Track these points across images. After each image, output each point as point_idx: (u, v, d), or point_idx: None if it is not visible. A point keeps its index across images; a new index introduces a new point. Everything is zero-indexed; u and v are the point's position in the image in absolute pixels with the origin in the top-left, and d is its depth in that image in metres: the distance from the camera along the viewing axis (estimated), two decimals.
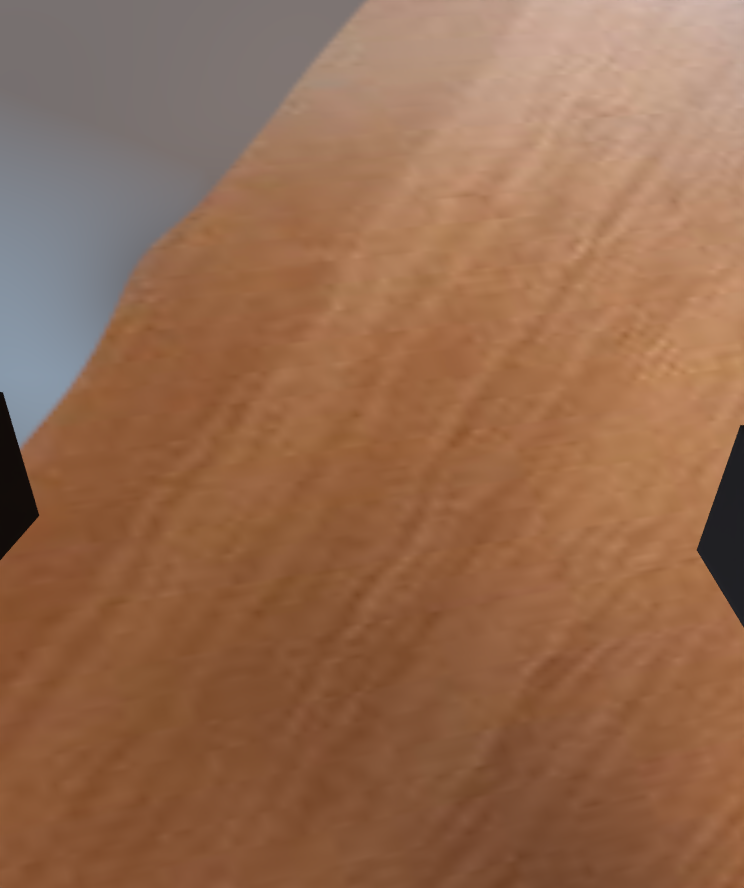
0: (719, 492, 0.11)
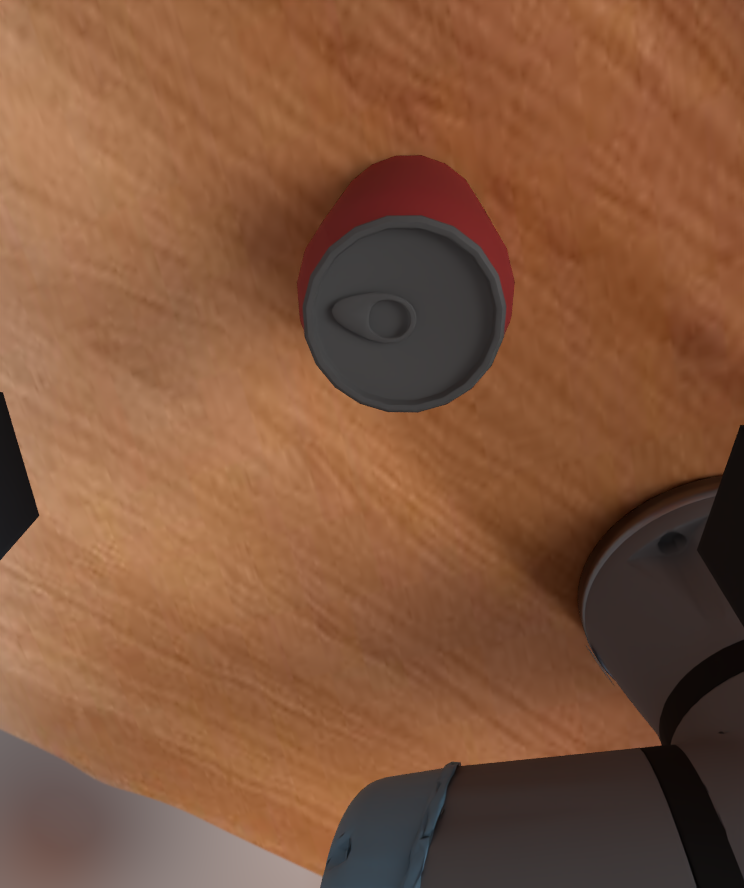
0: (719, 492, 0.11)
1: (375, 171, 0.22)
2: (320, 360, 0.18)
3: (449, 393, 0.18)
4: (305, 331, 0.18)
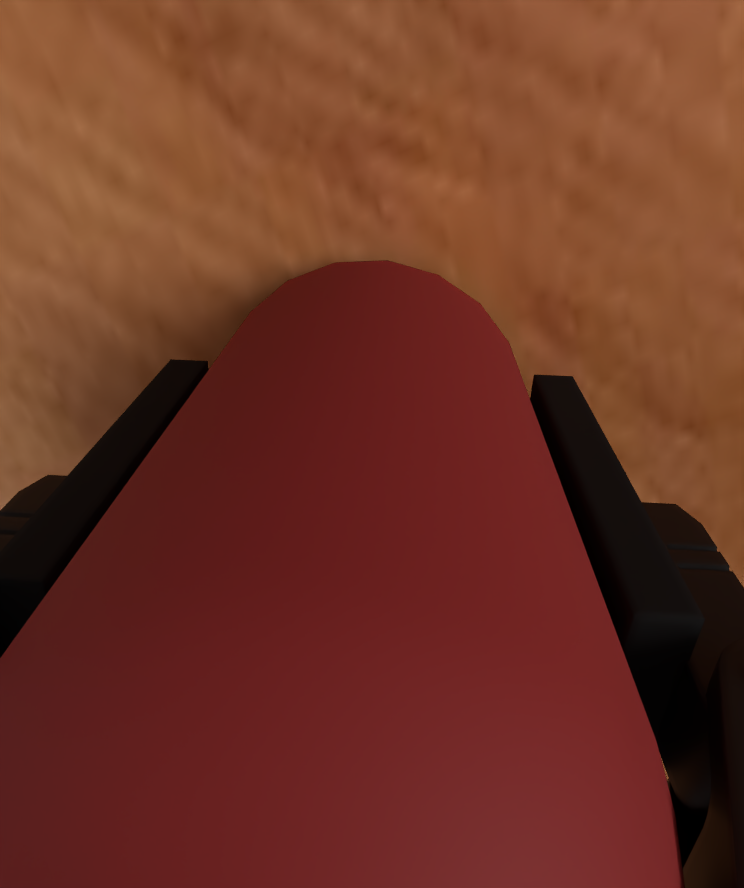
0: None
1: (266, 339, 0.09)
2: None
3: None
4: None
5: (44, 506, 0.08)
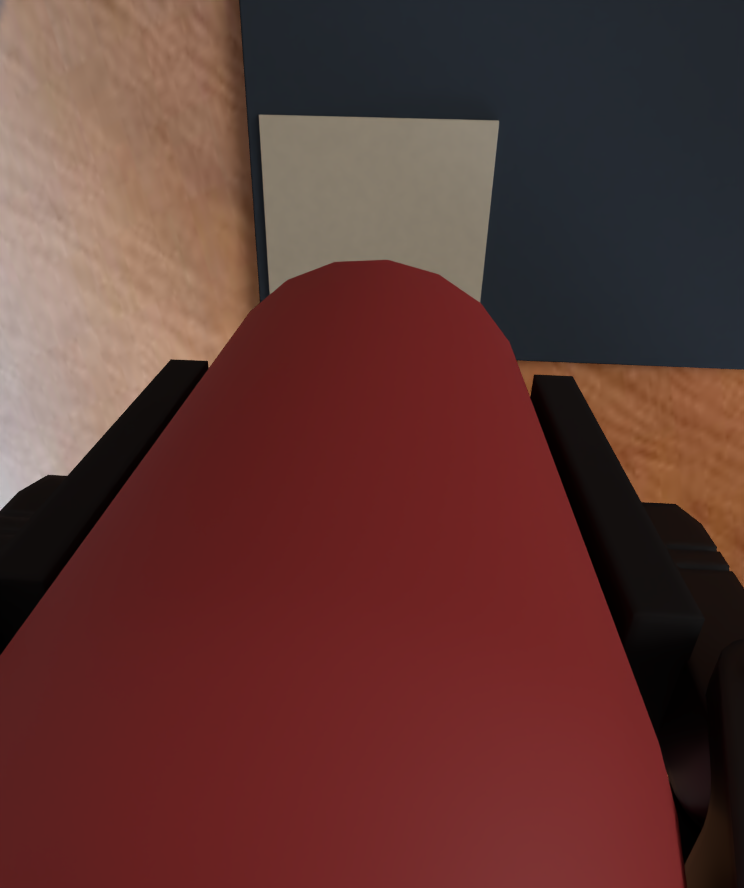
0: None
1: (265, 338, 0.09)
2: None
3: None
4: None
5: (44, 506, 0.08)
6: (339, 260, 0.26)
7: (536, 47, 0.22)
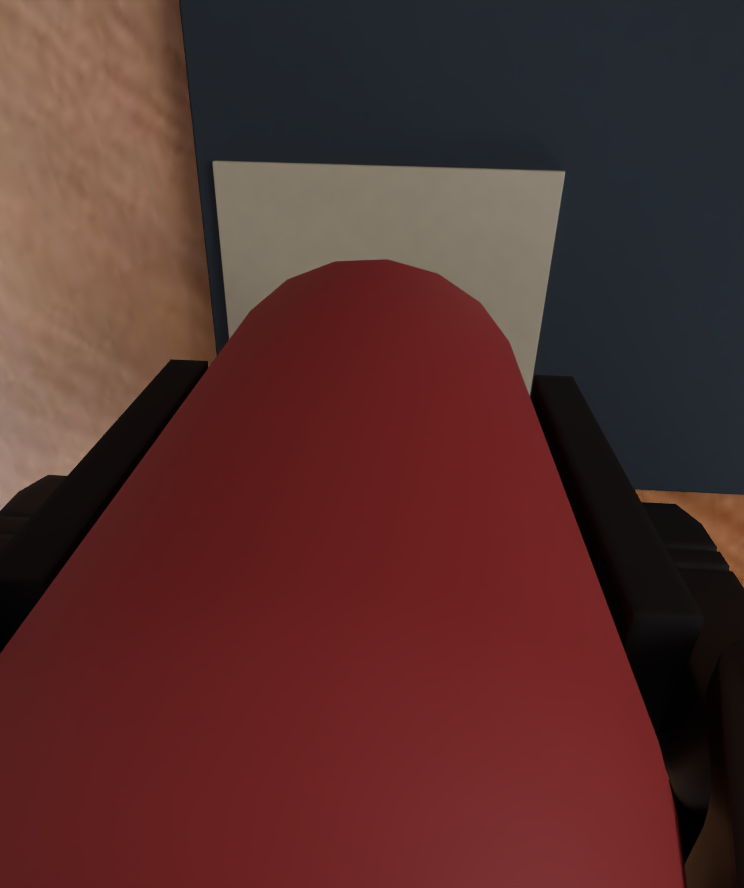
0: None
1: (265, 338, 0.09)
2: None
3: None
4: None
5: (44, 506, 0.08)
6: None
7: (625, 65, 0.15)
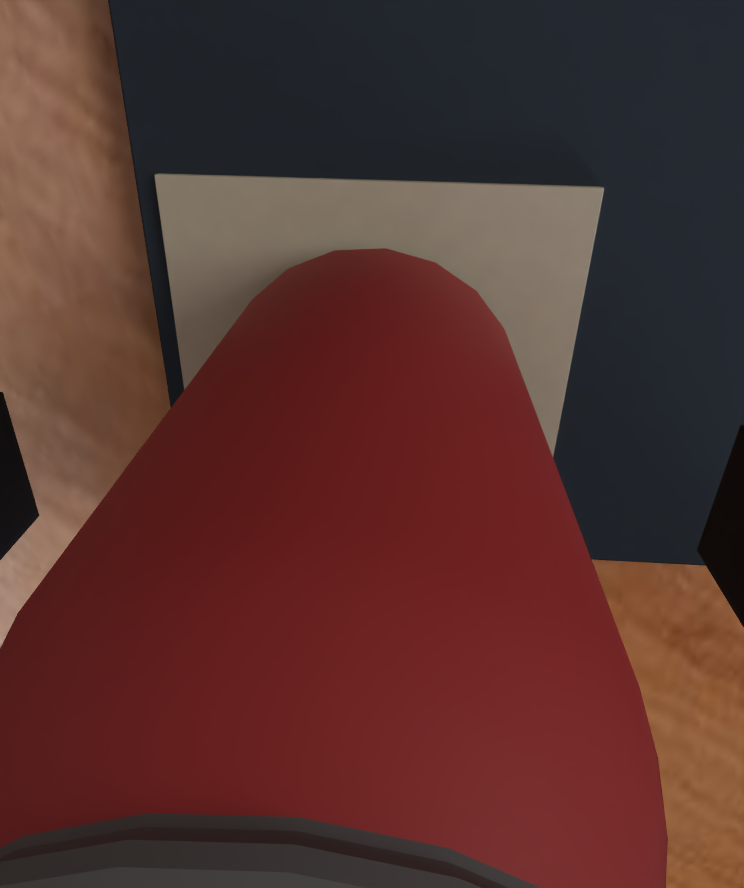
0: (719, 492, 0.11)
1: (268, 321, 0.10)
2: None
3: None
4: None
5: None
6: None
7: (687, 50, 0.11)
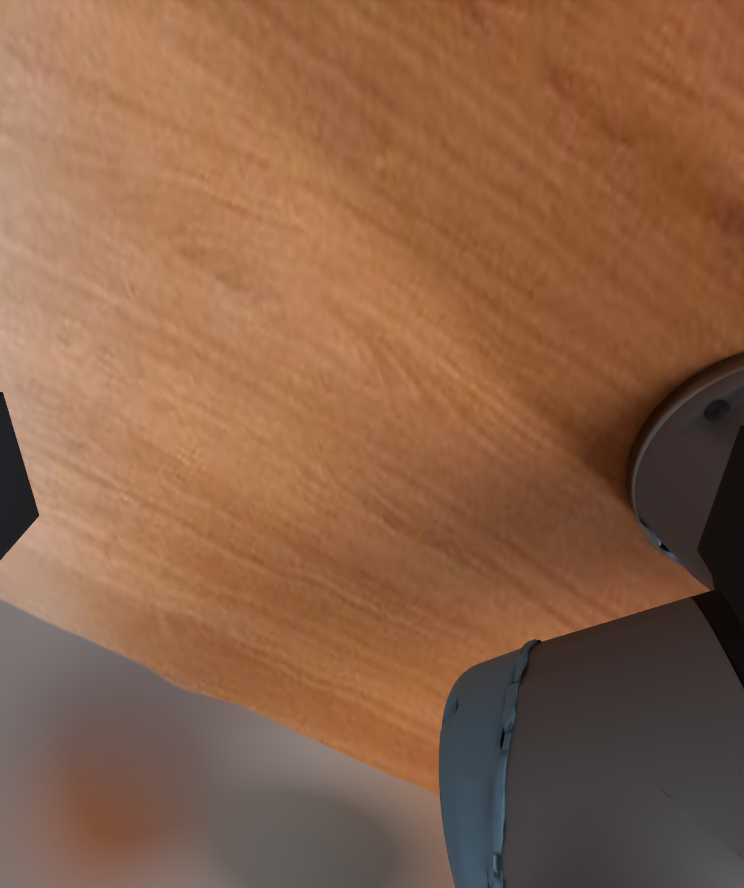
0: (719, 492, 0.11)
1: None
2: None
3: None
4: None
5: None
6: None
7: None
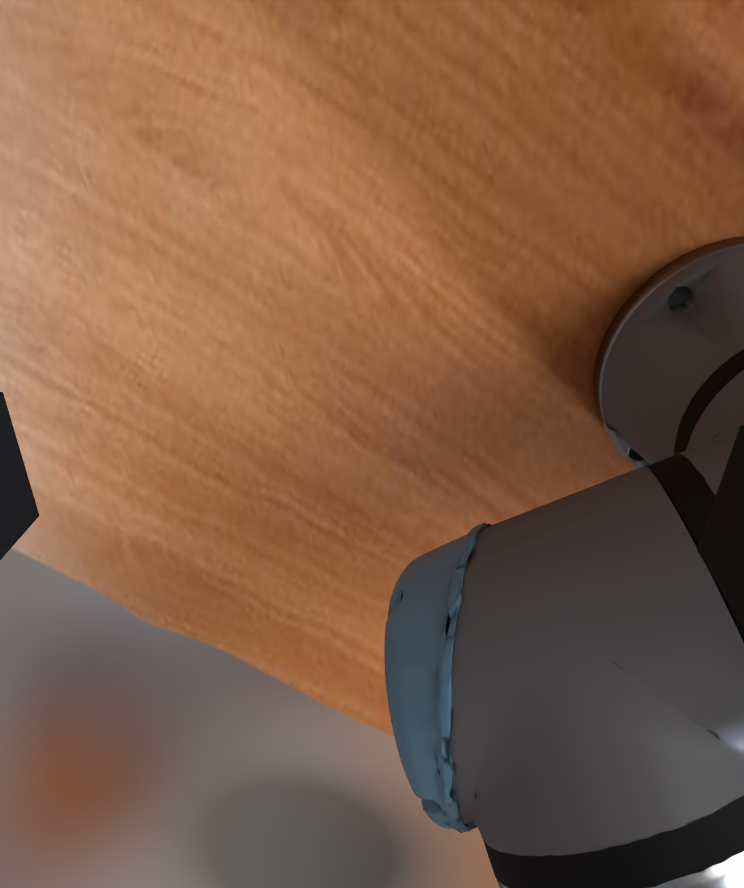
0: (719, 492, 0.11)
1: None
2: None
3: None
4: None
5: None
6: None
7: None
